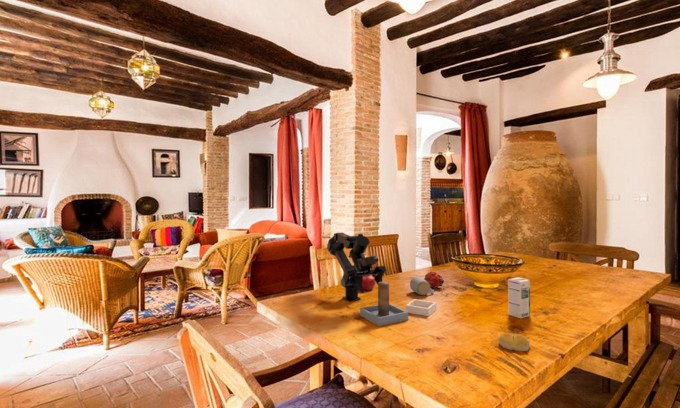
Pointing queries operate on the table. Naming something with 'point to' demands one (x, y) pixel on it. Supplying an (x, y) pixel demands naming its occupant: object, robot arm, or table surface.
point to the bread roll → (514, 342)
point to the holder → (421, 307)
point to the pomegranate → (368, 282)
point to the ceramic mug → (420, 286)
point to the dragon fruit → (434, 279)
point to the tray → (393, 317)
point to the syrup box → (519, 297)
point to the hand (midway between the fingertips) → (372, 290)
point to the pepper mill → (383, 298)
